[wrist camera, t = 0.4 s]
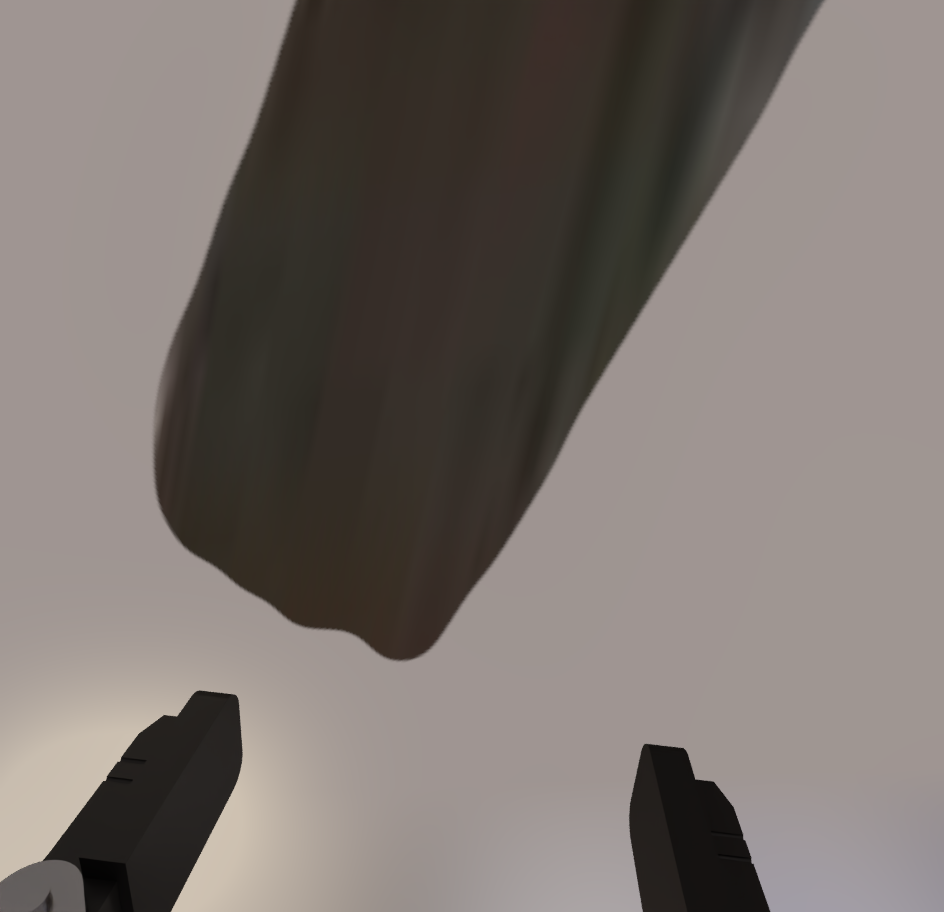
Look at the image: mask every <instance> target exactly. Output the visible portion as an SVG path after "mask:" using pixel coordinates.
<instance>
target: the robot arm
mask: <svg viewBox="0 0 944 912" xmlns="http://www.w3.org/2000/svg"><path fill="white" fill-rule="evenodd" d="M241 764H242V740H241V726H240V711H239V700H238V698H237V696H236V695H233V694H224V693H216V692H207V691H197V692H195V693H194V694H193V695H192V696H191V698H190V700H189V701H188V702H187V703H186V705H185V706H184V708H183V709H182V711H181V712H180V713H179V715H178V716H177V717H176V716H167V715H164V716H162V717H161V718H160V719H158V720H157V721H156V722H154V723H153V724H151V725H150V726H149V727H147V728H146V729H145V730H143V731H142V732H141V733H139V734H138V736H137V737H136V738H135V740H134V741H133V742H132V744H131V745H130V746H129V748H128V749H127V750H126V752H125V753H124V754H123V756H122V757H121V761H120V762H117V764H116V765H115V766H114V768H113V769H112V770H111V772H110V773H109V774H108V776H107V779H106V781H103V782H102V784H101V785H100V786H99V787H98V789H97V790H96V791H95V793H94V794H93V796H92V797H91V798H90V799H89V801H88V802H87V804H86V805H85V806H84V808H83V809H82V810H81V811H80V813H79V814H78V815H77V817H76V818H75V820H74V821H73V822H72V823H71V825H70V826H69V827H68V829H67V830H66V832H65V833H64V834H63V835H62V837H61V838H60V840H59V841H58V842H57V843H56V845H55V846H54V847H53V849H52V850H51V851H50V853H49V854H48V855H47V856H46V858H45V859H44V860H43V861H41V862H38V863H34V864H32V865H29V866H26V867H24V868H22V869H20V870H18V871H16V872H15V873H13V874H11V875H10V876H8V877H7V878H5V879H4V880H3V881H1V882H0V912H171V910H172V908H173V906H174V904H175V902H176V901H177V899H178V897H179V895H180V893H181V891H182V889H183V887H184V885H185V883H186V881H187V879H188V877H189V875H190V873H191V871H192V869H193V867H194V865H195V863H196V862H197V860H198V858H199V856H200V854H201V852H202V850H203V848H204V846H205V844H206V842H207V840H208V838H209V836H210V834H211V832H212V830H213V828H214V826H215V824H216V822H217V821H218V818H219V817H220V815H221V813H222V811H223V809H224V807H225V805H226V803H227V801H228V799H229V797H230V795H231V793H232V791H233V789H234V787H235V785H236V782H237V780H238V776H239V773H240V768H241ZM629 823H630V824H629V826H630V837H631V844H632V849H633V856H634V862H635V867H636V874H637V879H638V885H639V891H640V898H641V903H642V909H643V912H770V910H769V907H768V904H767V901H766V898H765V896H764V893H763V890H762V887H761V884H760V881H759V879H758V876H757V873H756V870H755V867H754V864H752V863H751V856H750V853H749V850H748V847H747V844H746V841H745V840H743V833H742V830H741V827H740V824H739V821H738V819H737V816H736V813H735V810H734V807H733V806H732V805H731V803H730V802H729V801H728V799H727V798H726V797H725V796H724V794H723V793H722V792H721V791H720V789H719V788H718V787H717V785H716V784H715V783H714V782H712V781H703V780H695V777H694V774H693V770H692V767H691V763H690V760H689V757H688V754H687V752H686V750H685V749H684V748H678V747H668V746H660V745H652V744H644V746H643V748H642V751H641V756H640V760H639V765H638V769H637V774H636V779H635V783H634V788H633V793H632V797H631V802H630V814H629Z"/></svg>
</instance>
